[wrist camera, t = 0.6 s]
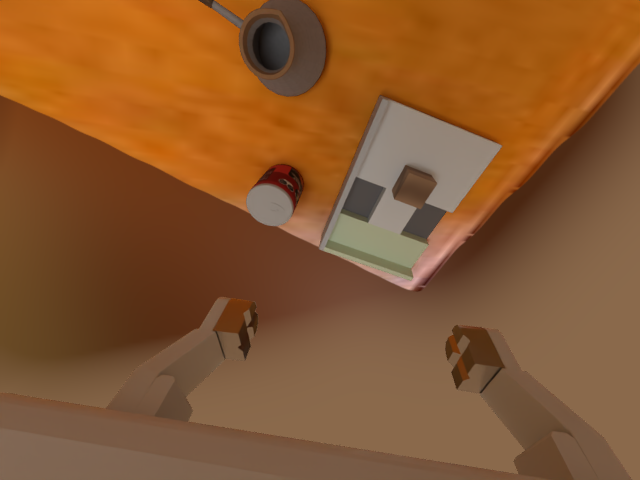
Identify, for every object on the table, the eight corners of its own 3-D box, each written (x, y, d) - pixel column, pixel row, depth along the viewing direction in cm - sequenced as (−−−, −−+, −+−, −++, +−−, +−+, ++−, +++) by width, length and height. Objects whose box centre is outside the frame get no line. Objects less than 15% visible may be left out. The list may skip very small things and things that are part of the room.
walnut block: (405, 164, 44) (409, 172, 41) (431, 175, 44) (437, 183, 41) (391, 190, 47) (394, 199, 43) (416, 199, 47) (420, 209, 44)
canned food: (304, 201, 53) (293, 228, 44) (267, 198, 53) (248, 224, 44) (304, 164, 48) (292, 186, 39) (263, 161, 49) (242, 182, 40)
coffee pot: (343, 37, 37) (336, 22, 25) (303, 109, 43) (282, 126, 31) (207, -78, 32) (115, -166, 20) (184, 22, 38) (103, 1, 26)
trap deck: (379, 94, 41) (382, 98, 36) (495, 142, 42) (511, 151, 38) (321, 234, 57) (318, 249, 52) (406, 264, 59) (410, 280, 54)
